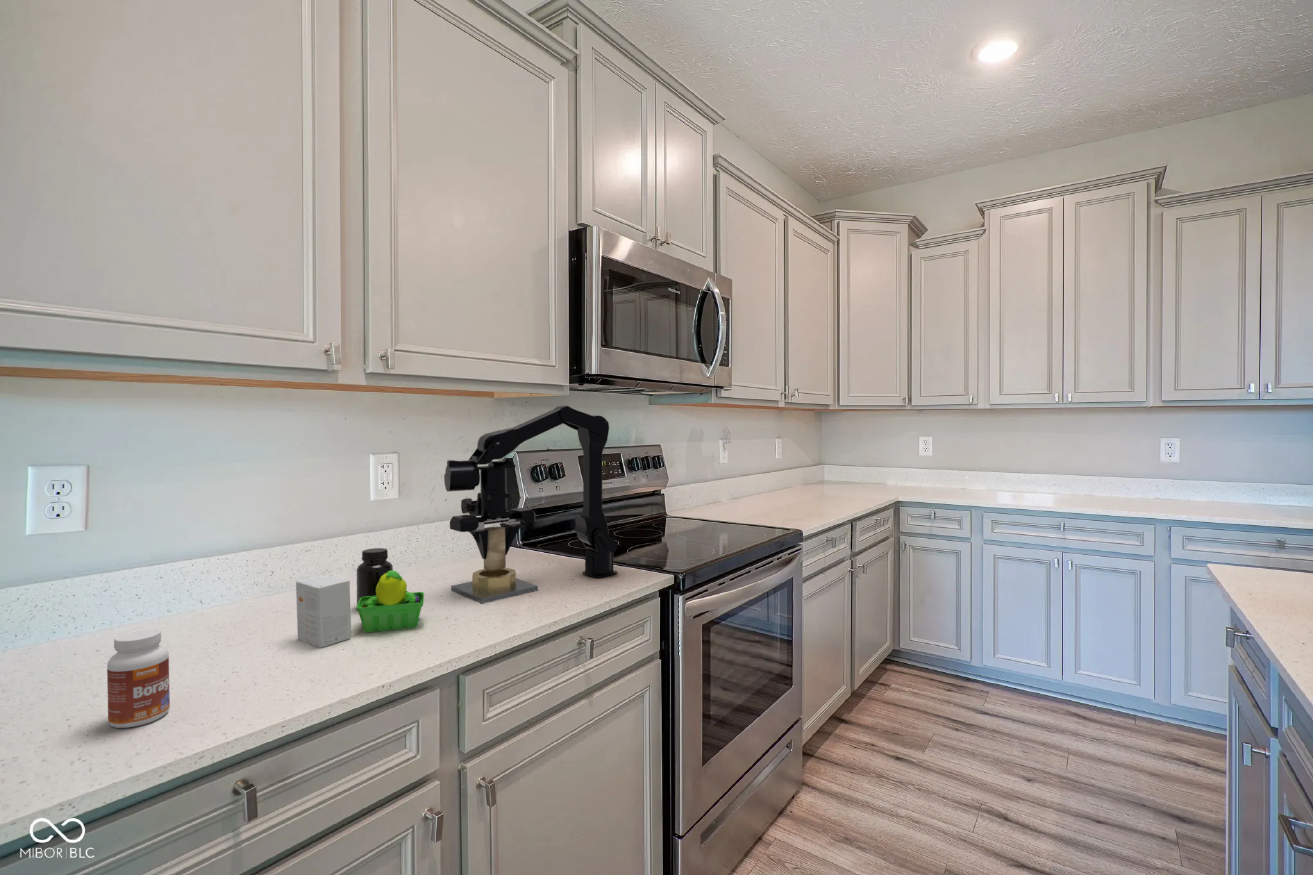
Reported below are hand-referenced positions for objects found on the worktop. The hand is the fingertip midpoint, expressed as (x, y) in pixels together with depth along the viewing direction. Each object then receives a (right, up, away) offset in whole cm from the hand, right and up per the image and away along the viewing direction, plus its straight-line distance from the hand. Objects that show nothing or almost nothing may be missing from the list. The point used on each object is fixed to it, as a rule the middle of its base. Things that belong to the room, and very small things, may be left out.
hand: (494, 556), depth 138 cm
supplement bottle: (-21, -8, -12) cm, 26 cm away
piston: (0, -3, 0) cm, 3 cm away
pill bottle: (-31, -10, -58) cm, 67 cm away
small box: (-22, -9, -30) cm, 38 cm away
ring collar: (0, -8, 0) cm, 8 cm away
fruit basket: (-13, -9, -24) cm, 28 cm away
